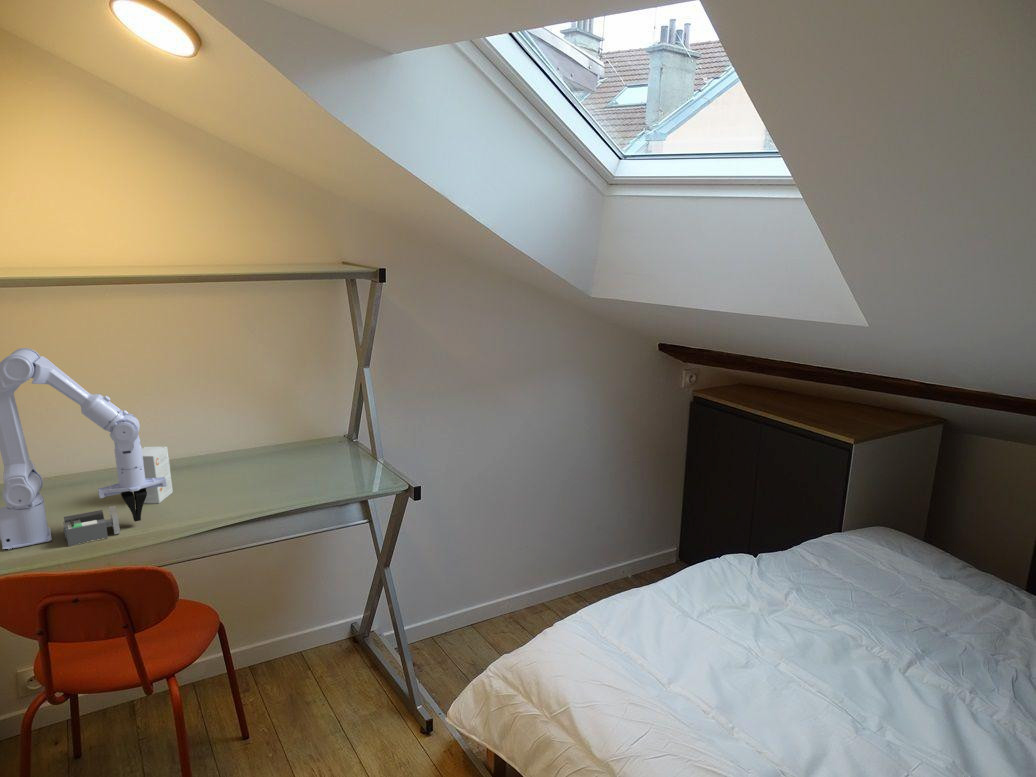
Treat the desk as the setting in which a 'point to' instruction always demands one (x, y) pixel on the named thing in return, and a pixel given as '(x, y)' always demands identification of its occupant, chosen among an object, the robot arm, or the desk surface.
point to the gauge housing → (86, 527)
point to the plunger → (111, 522)
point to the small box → (157, 472)
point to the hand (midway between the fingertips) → (137, 519)
